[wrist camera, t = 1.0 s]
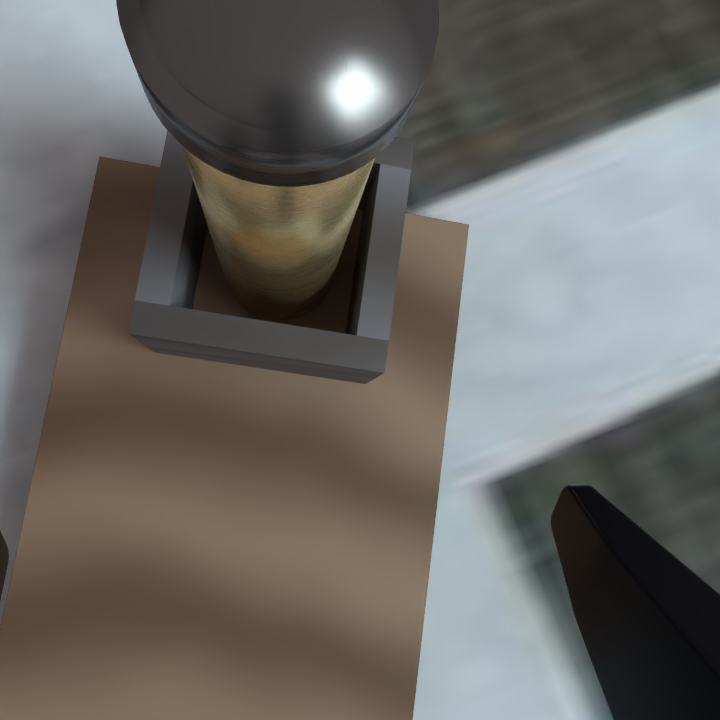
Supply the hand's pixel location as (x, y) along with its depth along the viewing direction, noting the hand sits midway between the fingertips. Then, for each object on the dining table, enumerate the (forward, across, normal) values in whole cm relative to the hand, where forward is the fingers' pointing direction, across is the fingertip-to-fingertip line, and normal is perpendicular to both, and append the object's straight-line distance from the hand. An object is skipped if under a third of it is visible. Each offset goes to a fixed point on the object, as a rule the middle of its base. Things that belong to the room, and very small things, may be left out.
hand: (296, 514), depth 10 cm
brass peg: (+14, 0, +3) cm, 14 cm away
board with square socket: (+10, +1, +9) cm, 14 cm away
